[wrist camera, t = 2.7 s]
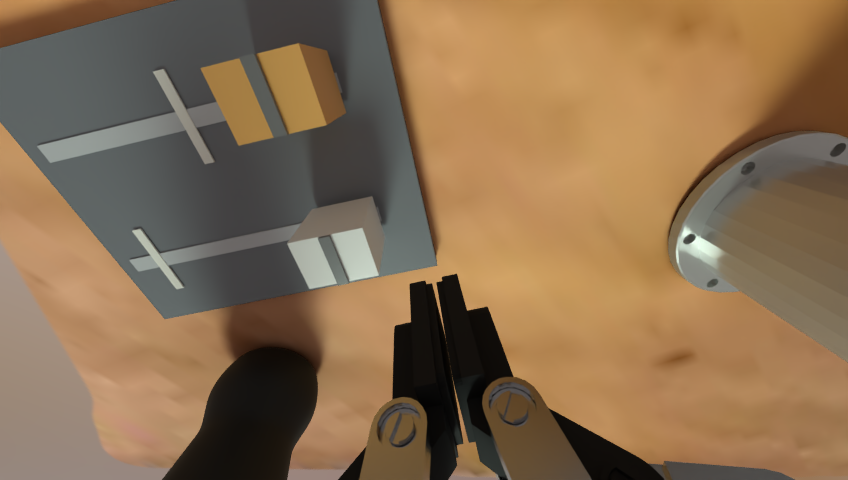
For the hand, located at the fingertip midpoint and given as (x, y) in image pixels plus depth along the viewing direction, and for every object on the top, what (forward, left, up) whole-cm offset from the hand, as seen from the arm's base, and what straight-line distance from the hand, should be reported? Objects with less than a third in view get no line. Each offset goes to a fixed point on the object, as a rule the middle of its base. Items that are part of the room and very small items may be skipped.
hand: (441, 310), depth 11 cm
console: (+11, -4, -12) cm, 17 cm away
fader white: (+5, 0, -10) cm, 11 cm away
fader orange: (+5, -8, -10) cm, 14 cm away
